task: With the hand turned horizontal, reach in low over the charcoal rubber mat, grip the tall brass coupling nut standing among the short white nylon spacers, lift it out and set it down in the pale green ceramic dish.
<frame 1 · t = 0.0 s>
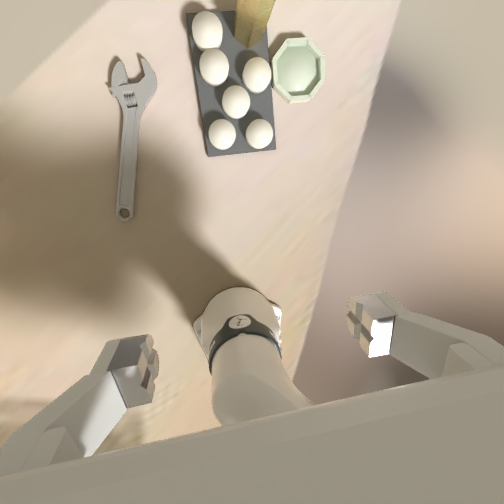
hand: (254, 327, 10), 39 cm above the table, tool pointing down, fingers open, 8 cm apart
coupling nut: (247, 30, 39), point 1 cm above the table, touching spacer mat
adjustable wrench: (127, 144, 42), on the table
dish: (296, 73, 43), on the table
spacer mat: (234, 88, 42), on the table
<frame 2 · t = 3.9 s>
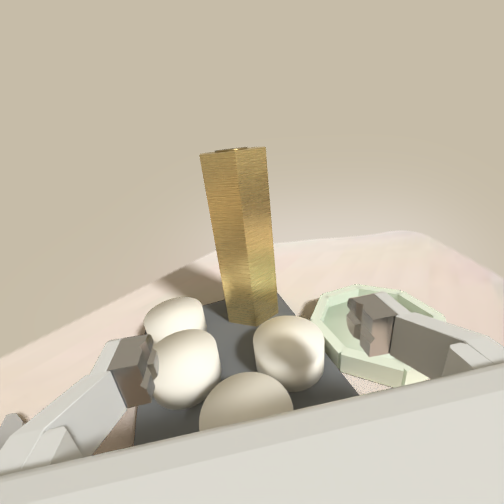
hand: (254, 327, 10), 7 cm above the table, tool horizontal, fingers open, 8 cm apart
coupling nut: (251, 308, 22), point 1 cm above the table, touching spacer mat
dish: (373, 333, 19), on the table
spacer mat: (244, 402, 15), on the table
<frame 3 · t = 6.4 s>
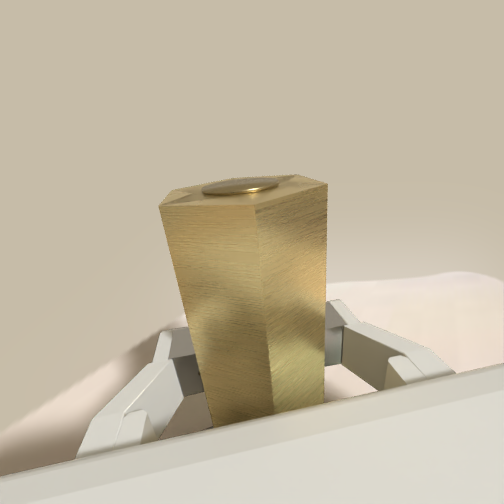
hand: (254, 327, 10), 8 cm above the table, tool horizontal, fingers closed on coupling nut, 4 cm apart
coupling nut: (271, 455, 12), point 1 cm above the table, touching gripper, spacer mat
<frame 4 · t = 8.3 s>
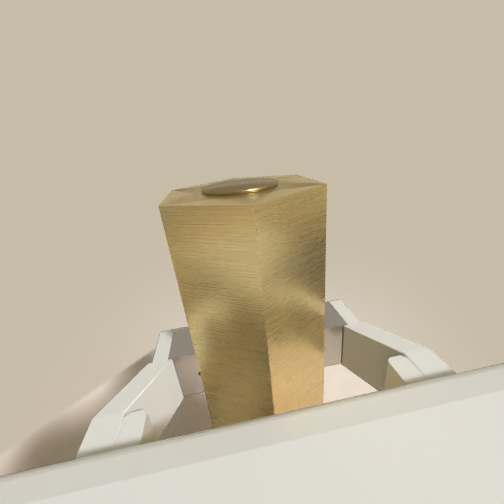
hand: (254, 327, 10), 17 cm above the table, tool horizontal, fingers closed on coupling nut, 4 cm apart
coupling nut: (271, 455, 12), point 10 cm above the table, touching gripper
when the fingers open (9 cm above the table, at t = 10.3 s): coupling nut stays where it is, resting on dish.
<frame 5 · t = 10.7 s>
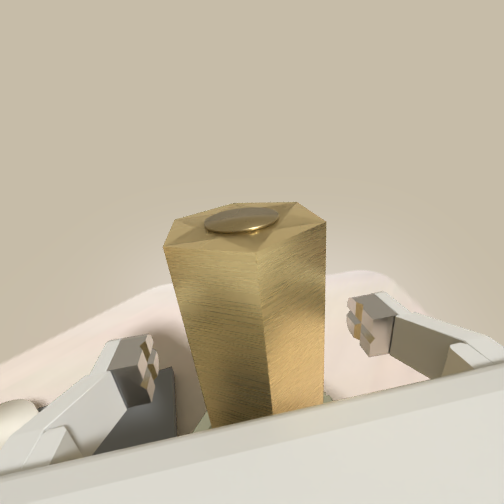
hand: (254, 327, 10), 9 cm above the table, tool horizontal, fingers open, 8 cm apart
coupling nut: (272, 466, 13), point 1 cm above the table, touching dish
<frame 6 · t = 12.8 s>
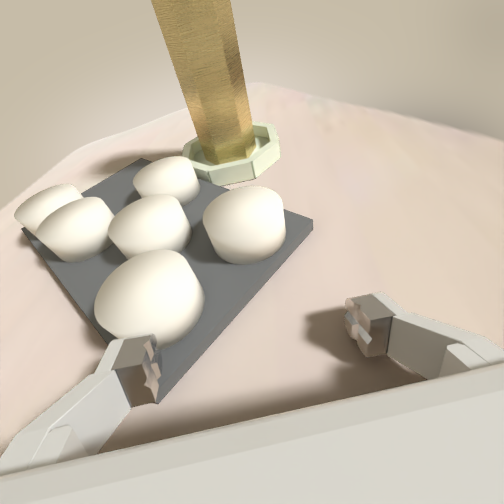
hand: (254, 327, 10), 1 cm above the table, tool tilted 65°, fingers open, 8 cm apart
coupling nut: (231, 153, 23), resting on dish
dish: (232, 158, 24), on the table
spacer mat: (148, 233, 18), on the table
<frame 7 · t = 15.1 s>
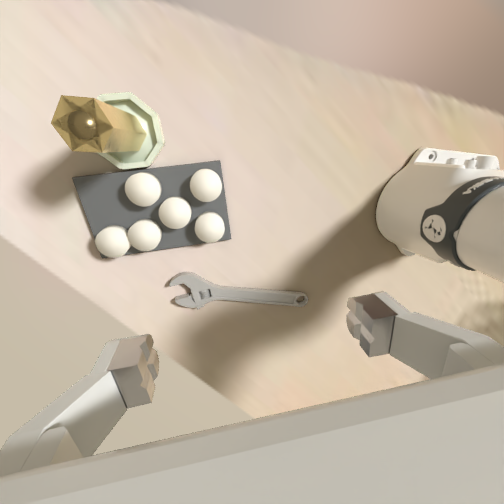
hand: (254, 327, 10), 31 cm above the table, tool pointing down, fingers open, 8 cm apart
coupling nut: (127, 133, 33), resting on dish
adjustable wrench: (239, 294, 47), on the table
dish: (128, 133, 34), on the table
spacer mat: (159, 210, 38), on the table
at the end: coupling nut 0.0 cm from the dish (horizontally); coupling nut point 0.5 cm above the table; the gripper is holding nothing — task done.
